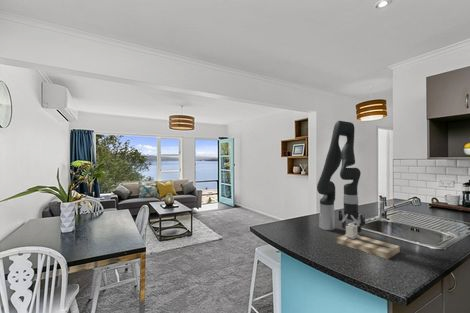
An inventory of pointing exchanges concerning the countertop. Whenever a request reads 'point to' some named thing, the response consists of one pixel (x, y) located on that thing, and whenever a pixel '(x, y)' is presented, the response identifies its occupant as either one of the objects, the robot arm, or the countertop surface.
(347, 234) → the white cube
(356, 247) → the wooden grid board
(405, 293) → the countertop surface
